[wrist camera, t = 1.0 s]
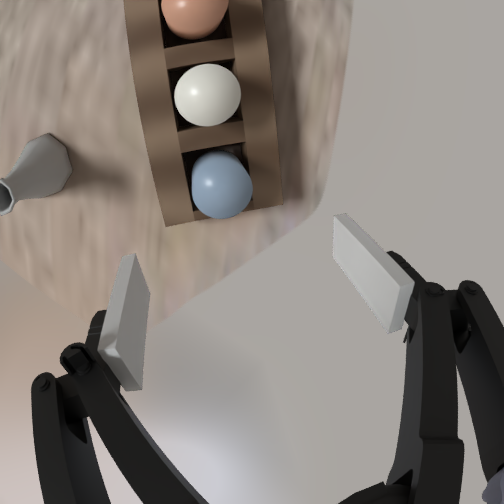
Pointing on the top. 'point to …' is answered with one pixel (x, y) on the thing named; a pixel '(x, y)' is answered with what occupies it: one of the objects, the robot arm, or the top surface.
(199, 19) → the peach orange ball
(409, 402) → the robot arm
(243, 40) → the wooden egg tray
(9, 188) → the flask
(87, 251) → the top surface
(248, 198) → the blue rounded lump
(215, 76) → the off-white round ball
